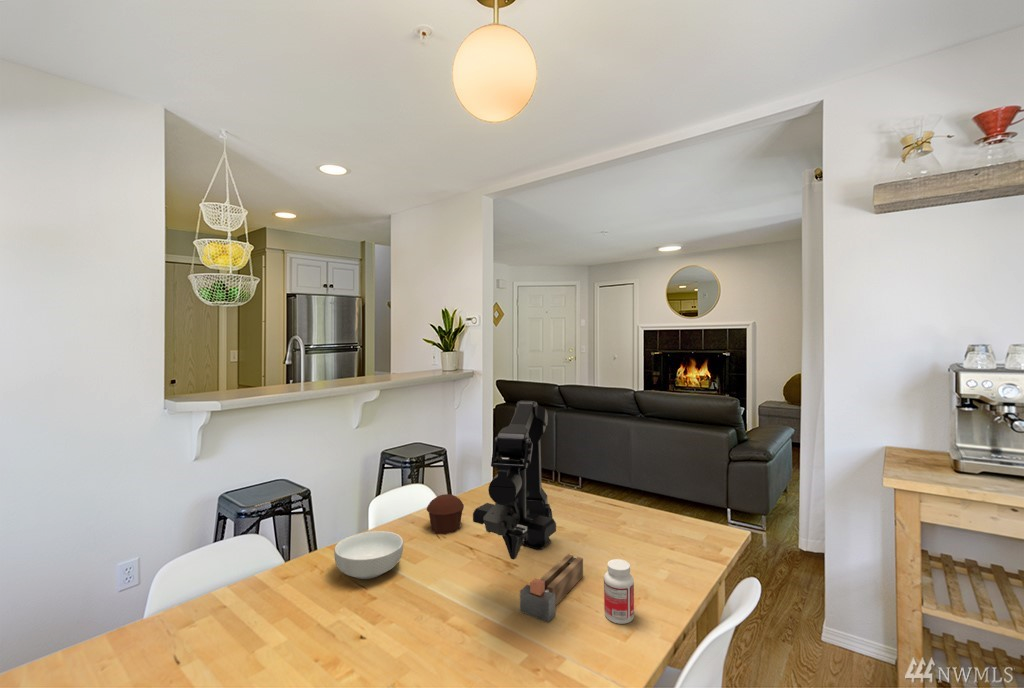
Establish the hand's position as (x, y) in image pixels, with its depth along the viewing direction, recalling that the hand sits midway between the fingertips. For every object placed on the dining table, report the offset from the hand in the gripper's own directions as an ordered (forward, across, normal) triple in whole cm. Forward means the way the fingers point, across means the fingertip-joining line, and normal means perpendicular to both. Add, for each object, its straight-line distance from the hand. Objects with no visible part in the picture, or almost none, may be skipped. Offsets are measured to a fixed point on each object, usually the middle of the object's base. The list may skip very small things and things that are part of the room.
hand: (513, 558), depth 101 cm
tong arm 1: (+10, +5, +11) cm, 16 cm away
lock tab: (+6, +6, 0) cm, 8 cm away
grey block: (+10, +6, 0) cm, 12 cm away
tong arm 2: (+10, +7, +11) cm, 16 cm away
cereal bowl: (+10, -39, -8) cm, 41 cm away
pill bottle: (+10, +21, +8) cm, 25 cm away
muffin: (+10, -40, +22) cm, 47 cm away
